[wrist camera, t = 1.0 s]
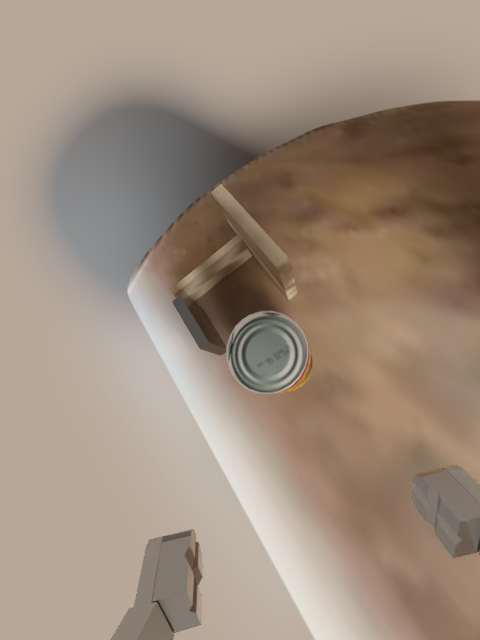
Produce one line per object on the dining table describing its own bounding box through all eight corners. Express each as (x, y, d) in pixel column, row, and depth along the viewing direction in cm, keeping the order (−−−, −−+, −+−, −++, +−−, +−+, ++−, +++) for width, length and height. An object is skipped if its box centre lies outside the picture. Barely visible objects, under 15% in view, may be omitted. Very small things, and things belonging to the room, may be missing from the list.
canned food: (320, 344, 34) (320, 324, 23) (301, 401, 33) (291, 408, 21) (266, 327, 36) (242, 300, 25) (247, 378, 35) (213, 374, 24)
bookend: (202, 310, 40) (180, 295, 34) (228, 350, 37) (208, 342, 31) (196, 315, 40) (172, 301, 34) (221, 355, 37) (200, 348, 31)
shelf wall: (245, 233, 42) (221, 183, 31) (298, 294, 36) (288, 257, 26) (178, 287, 43) (134, 256, 33) (219, 353, 38) (182, 340, 28)
